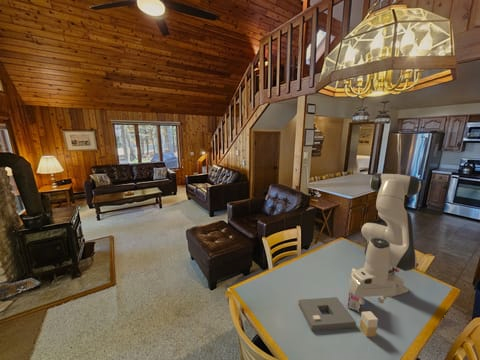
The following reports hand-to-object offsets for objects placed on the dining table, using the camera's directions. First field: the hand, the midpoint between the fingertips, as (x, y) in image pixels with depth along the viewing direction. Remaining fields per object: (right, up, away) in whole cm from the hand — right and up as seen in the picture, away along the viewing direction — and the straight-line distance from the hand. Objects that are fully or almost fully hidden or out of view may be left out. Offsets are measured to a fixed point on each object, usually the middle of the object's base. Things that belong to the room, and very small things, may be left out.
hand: (371, 302), depth 92 cm
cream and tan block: (0, -16, +3) cm, 16 cm away
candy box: (+4, -13, +21) cm, 25 cm away
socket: (-16, -14, +12) cm, 24 cm away
